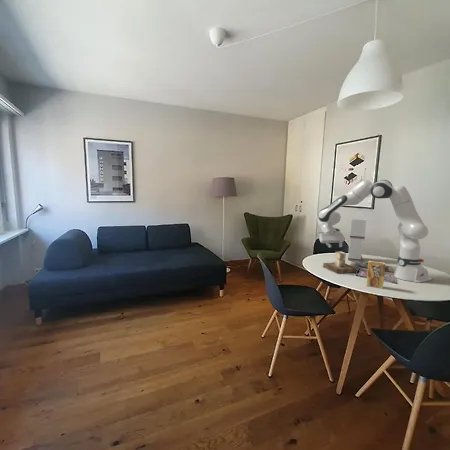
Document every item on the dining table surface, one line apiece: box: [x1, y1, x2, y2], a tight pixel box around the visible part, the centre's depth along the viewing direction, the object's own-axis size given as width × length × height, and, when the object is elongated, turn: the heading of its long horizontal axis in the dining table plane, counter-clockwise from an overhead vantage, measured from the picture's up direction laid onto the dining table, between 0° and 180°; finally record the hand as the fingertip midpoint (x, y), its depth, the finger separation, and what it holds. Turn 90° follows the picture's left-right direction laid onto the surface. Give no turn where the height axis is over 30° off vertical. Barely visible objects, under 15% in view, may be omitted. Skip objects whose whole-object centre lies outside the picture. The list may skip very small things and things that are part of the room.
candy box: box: [366, 260, 386, 289], centre depth 158 cm, size 9×4×15 cm, turn 62°
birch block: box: [334, 251, 347, 267], centre depth 190 cm, size 5×5×10 cm
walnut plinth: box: [322, 261, 357, 274], centre depth 191 cm, size 16×16×3 cm
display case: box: [347, 217, 367, 263], centre depth 217 cm, size 11×11×35 cm
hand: (335, 246), depth 195 cm, fingers open, 8 cm apart
